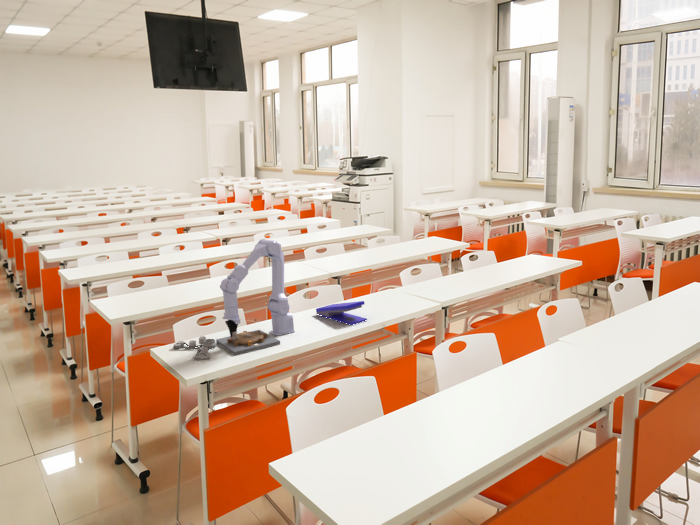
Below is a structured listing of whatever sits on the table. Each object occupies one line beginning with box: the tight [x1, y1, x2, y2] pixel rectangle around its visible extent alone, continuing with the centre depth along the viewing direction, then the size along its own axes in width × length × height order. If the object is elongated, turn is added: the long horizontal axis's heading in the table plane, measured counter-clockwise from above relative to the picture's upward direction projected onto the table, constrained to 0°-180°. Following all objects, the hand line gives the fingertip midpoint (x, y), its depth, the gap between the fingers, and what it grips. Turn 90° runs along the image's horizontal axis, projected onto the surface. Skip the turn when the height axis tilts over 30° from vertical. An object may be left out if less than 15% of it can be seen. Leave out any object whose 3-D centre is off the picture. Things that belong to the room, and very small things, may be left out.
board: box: [215, 329, 281, 356], centre depth 247 cm, size 21×22×2 cm
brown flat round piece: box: [227, 329, 268, 346], centre depth 247 cm, size 17×17×5 cm
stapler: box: [315, 300, 368, 326], centre depth 278 cm, size 12×28×10 cm, turn 40°
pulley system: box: [173, 335, 218, 361], centre depth 242 cm, size 27×5×15 cm
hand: (233, 336), depth 244 cm, fingers closed, pressing on brown flat round piece
